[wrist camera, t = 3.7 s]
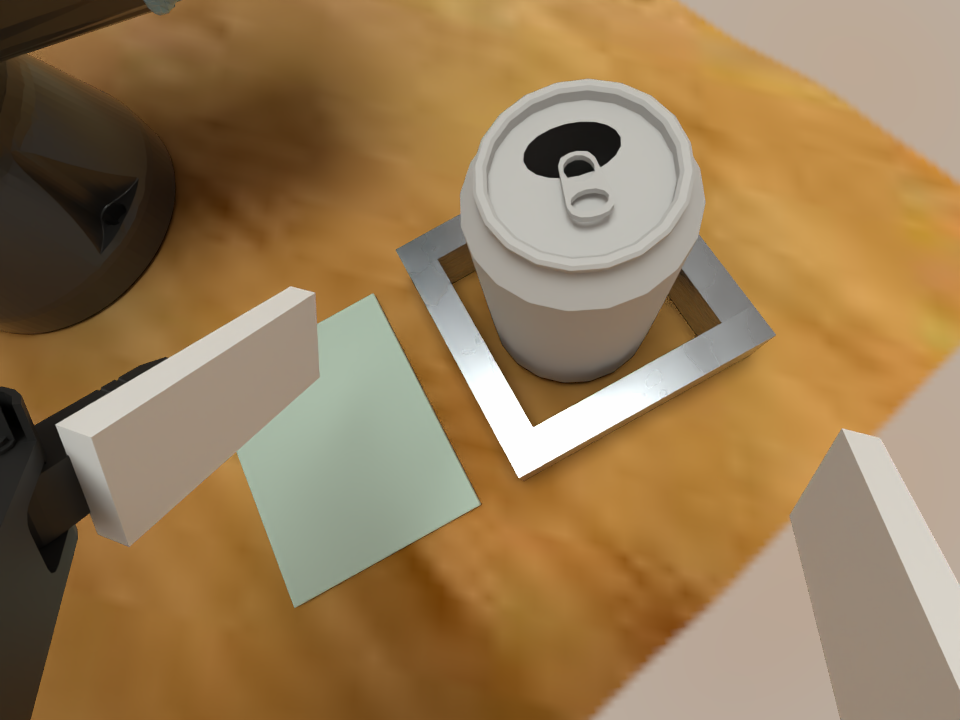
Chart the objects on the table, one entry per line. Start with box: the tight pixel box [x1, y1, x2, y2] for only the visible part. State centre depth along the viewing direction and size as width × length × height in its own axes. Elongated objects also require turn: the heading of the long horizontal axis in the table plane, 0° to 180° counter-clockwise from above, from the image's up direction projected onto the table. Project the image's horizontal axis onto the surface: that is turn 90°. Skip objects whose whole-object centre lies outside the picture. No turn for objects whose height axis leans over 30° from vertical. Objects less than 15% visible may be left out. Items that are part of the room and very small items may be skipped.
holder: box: [396, 214, 776, 481], centre depth 25 cm, size 12×12×3 cm
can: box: [460, 79, 705, 383], centre depth 21 cm, size 8×8×12 cm
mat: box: [236, 294, 481, 608], centre depth 26 cm, size 12×10×1 cm
